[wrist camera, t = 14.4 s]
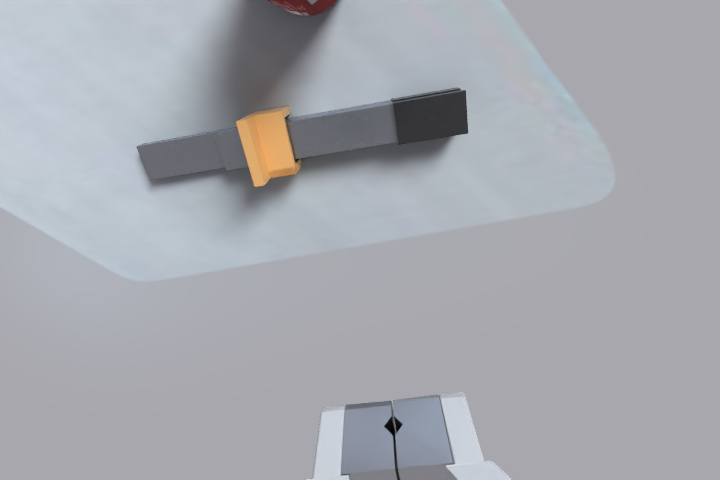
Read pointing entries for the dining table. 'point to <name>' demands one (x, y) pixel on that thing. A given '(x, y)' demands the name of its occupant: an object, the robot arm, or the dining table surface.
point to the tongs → (207, 148)
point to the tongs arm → (364, 127)
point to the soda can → (304, 6)
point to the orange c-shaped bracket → (267, 145)
